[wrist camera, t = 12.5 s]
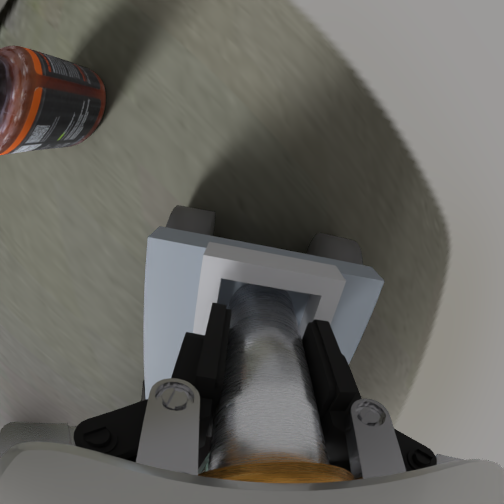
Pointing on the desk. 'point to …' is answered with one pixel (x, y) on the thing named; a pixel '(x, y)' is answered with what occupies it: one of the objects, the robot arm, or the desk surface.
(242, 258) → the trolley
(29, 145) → the supplement bottle
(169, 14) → the desk surface
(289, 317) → the pin
